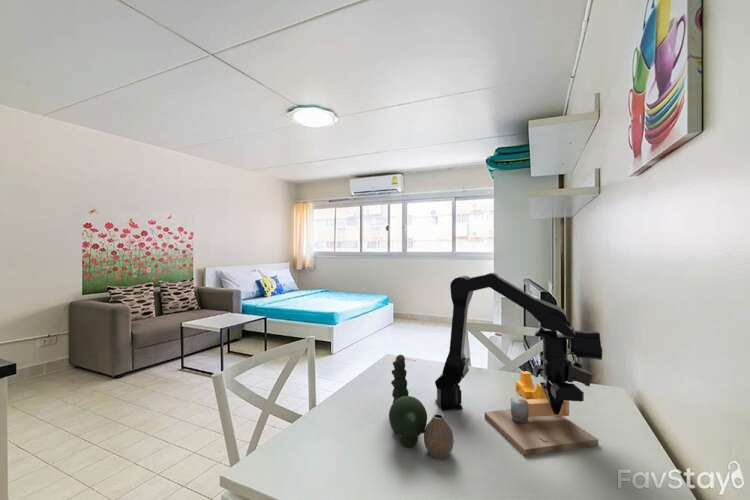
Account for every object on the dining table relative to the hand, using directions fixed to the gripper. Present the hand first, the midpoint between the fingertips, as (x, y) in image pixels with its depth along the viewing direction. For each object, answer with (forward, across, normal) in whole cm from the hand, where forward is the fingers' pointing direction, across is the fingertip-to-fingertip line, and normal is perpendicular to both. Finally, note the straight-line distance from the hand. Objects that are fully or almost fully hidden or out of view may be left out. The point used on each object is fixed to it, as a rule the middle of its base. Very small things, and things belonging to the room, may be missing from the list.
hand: (556, 414), depth 88 cm
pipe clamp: (+4, +19, +1) cm, 20 cm away
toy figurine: (+4, -6, +39) cm, 40 cm away
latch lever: (+1, +2, +3) cm, 4 cm away
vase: (+5, -14, +31) cm, 34 cm away
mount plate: (+4, -1, +5) cm, 7 cm away
